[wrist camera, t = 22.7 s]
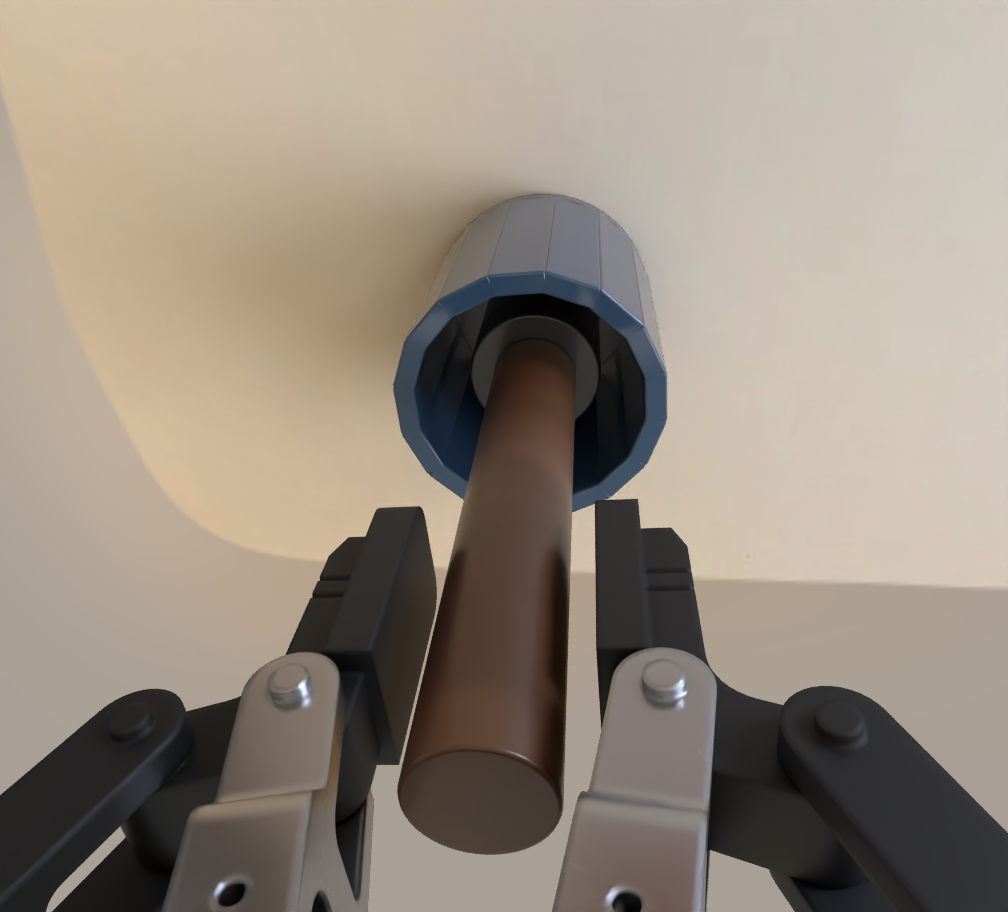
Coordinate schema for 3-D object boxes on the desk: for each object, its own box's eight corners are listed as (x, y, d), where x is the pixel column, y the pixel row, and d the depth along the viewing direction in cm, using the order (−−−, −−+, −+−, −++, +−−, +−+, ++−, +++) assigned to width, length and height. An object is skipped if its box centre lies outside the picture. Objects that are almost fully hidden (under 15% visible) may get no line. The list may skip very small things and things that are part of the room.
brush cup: (455, 397, 27) (417, 521, 21) (426, 202, 24) (372, 283, 18) (649, 386, 26) (667, 512, 20) (646, 184, 23) (666, 261, 17)
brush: (496, 357, 25) (373, 883, 11) (484, 255, 24) (321, 711, 9) (600, 351, 25) (619, 888, 10) (596, 246, 23) (609, 709, 9)
